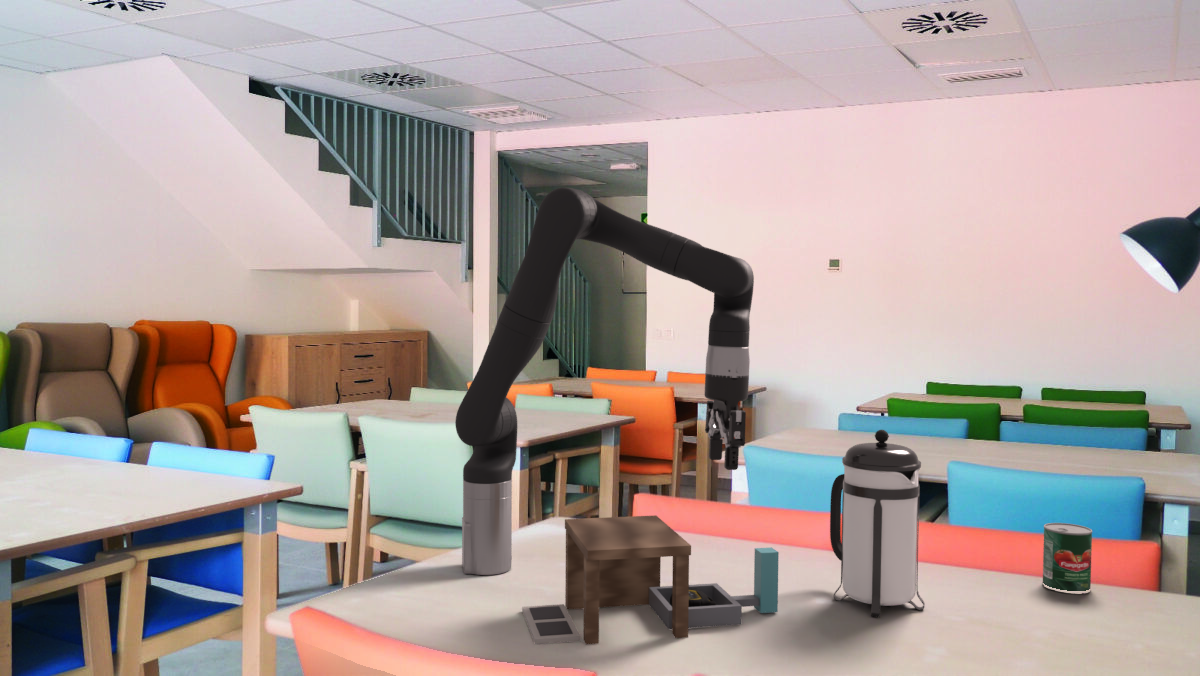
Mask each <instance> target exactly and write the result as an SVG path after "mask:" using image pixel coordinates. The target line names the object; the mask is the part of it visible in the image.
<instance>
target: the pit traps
mask: <svg viewBox="0 0 1200 676" xmlns="http://www.w3.org/2000/svg"><path fill="white" fill-rule="evenodd" d="M521 609H522V610H521V612H522V614H523V617H524V620H525V622H526V625H527V627H528V631H529V633H530V635H531V638H532V641H533V643H534V645H545V644H547V645H548V644H560V643H573V642H581V641H582V637H581V634H580V632H579V630H578V628H577V626H576V624H575V622H574V620H573V619H572V616H571V615H570V613H569V610H567V608H566V606H565V603H561V604H560V603H559V604H548V605H547V604H545V605H531V606H529V605H528V606H522V607H521Z"/></svg>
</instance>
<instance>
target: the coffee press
mask: <svg viewBox="0 0 1200 676" xmlns="http://www.w3.org/2000/svg"><path fill="white" fill-rule="evenodd" d="M889 437H890V435H889V433H888V431H887V430H885V429H879V430H877V431H876V432H875V434H874V438H875V440H876V441H877V442H863V443H858V444H856V445H853V446H851V447H850V448H848V449H847V451H846V452H845V455H844V456H843V457H842V458H841V459H842V461H841V462H842V466H843V467H844V473H842V474H839V475H837V476H836V478H835V479H834V481H833V483H832V485H831V491H830V505H829V506H830V509H829V512H830V514H829V515H830V516H829V517H830V518H829V536H830V537H829V539H830V545H831V548H832V551H833V553H834V556H836V558H837V559H838V560H839V561H840V562H841V563H840V564H841V566H840V568H841V569H840V584H839V586H838V587H837V588H836V590H835V591H834V593H833V599H834V600H835V601H836V602H840V601H842V600H844V599H845V598H847V597H849V598H851V599H853V600H855V601H858V602H860V603H865V604H869V605H871V609H870V611H871V612H870V613H871V614H870V616H871V617H874V618H881V606H886V607H887V606H899V605H905V604H908V603H909V604H910V605H911V606H913V608H915V609H916V610H917V611H923V610H924V609H925V601H924V599H923V598H922V597H921V595H920V594H919V591H918V589H919V586H918V582H919V581H918V579H919V578H918V576H919V575H918V574H919V573H918V572H919V535H920V534H919V526H920V488H921V487H920V483H919V471H920V470H921V467H922V462H921V461H920V460H919V459H918V455H917V453H916V452H915V451H914V450H913V449H911V448H909V447H908V446H904V445H901V444H897V443H896V444H894V443H890V442H889V443H887V441H888V440H889ZM841 587H842V588H843V591H844V595H843V596H841V597H838V596H836V594H837V592H838V591H839V590H840V588H841ZM915 596H917V597H918V599H919V601H920V602H921V603H922V604H923V605H922V606H918V605H916V603H915V602H914V601H912V600H913V599H914V598H915Z"/></svg>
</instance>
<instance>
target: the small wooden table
mask: <svg viewBox="0 0 1200 676" xmlns="http://www.w3.org/2000/svg"><path fill="white" fill-rule="evenodd" d="M564 530H565V594H564V595H565V597H564V598H565V600H564V601H565V603H564V605H565V607H566V609H567V611H569V610H583V616H582V617H583V618H582V619H583V622H582V623H583V624H582V625H583V631H582V633H583V636H582V637H583V638H582V640H583V641H584V644H585V645H597V644H598V645H599V644H600V608H601V609H602V608H613V607H614V608H615V607H631V606H647V605H648V606H649V587H661V558H663V557H672V580H671V581H672V585H671V586H672V629H671V634H672V636H673V637H674V638H675V639H681V638H684V639H685V638H689V628H688V607H689V585H690V584H689V583H690V582H689V581H690V556H692V545H691V544H690V543H689V542H688V541H686V540H685V539H684V538H683V537H682V536H681V535H679V534H678V533H677V532H676V531H675V530H674V529H673V528H671V526H670V525H668V524H667V523H666V522H664V520H662V519H661V518H660V516H658V515H633V516H614V517H613V516H611V517H592V518H591V517H589V518H587V517H586V518H585V517H584V518H565V519H564Z"/></svg>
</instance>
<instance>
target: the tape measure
mask: <svg viewBox="0 0 1200 676" xmlns="http://www.w3.org/2000/svg"><path fill="white" fill-rule="evenodd" d="M670 605H671V606H672V595H671V597H670ZM714 605H716V603H715V602H714V601H713V600H712V599H711V598H710V597H708V596H707V595H706V594H704V593H703V592H702V591H701V590H699V589H695V590H689V607H699V606H714Z"/></svg>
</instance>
